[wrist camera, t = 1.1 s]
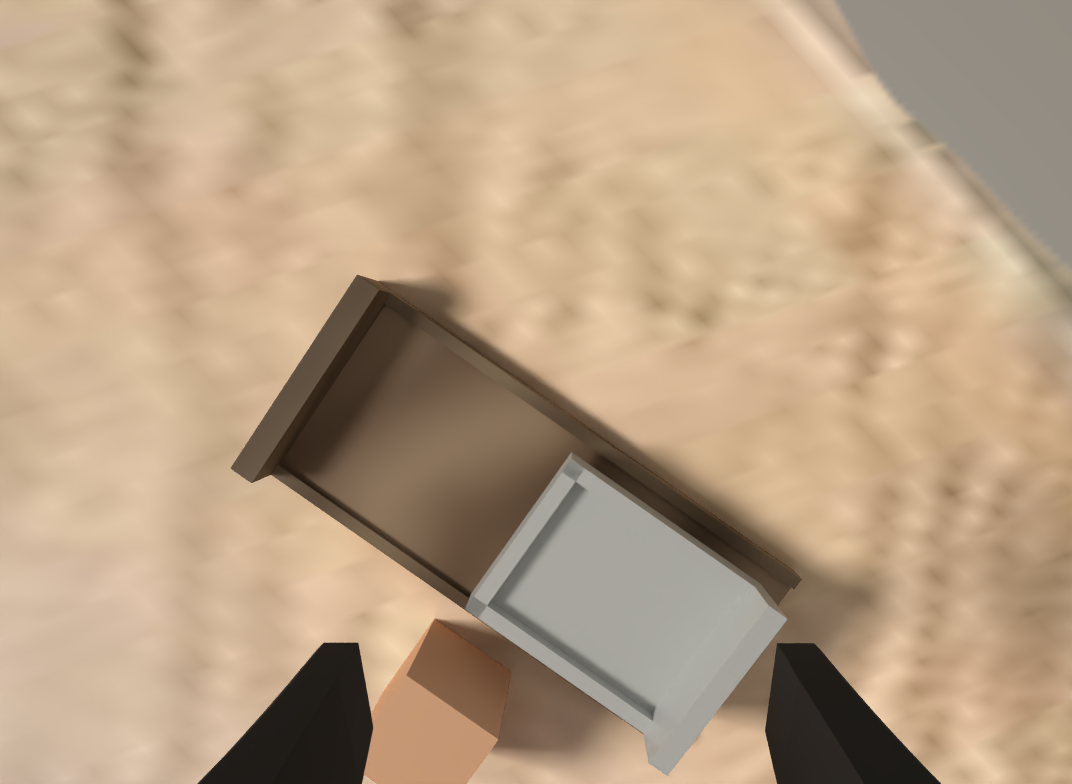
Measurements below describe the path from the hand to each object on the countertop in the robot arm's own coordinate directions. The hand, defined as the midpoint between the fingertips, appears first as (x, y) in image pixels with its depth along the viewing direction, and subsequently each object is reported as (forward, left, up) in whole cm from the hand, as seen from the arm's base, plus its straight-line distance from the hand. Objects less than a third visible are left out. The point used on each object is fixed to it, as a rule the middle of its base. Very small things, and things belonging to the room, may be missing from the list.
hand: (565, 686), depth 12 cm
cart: (-4, +2, -16) cm, 17 cm away
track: (+1, +2, -17) cm, 17 cm away
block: (-1, +10, -17) cm, 20 cm away
